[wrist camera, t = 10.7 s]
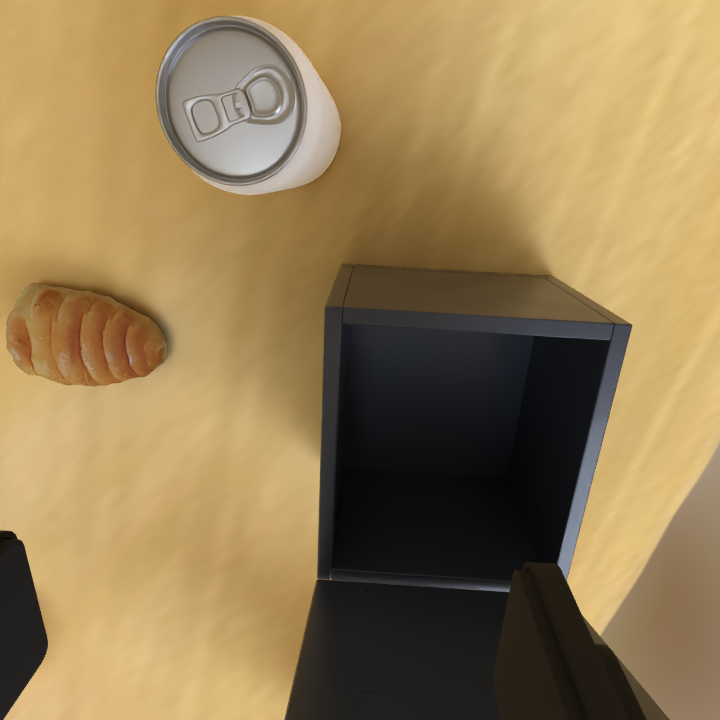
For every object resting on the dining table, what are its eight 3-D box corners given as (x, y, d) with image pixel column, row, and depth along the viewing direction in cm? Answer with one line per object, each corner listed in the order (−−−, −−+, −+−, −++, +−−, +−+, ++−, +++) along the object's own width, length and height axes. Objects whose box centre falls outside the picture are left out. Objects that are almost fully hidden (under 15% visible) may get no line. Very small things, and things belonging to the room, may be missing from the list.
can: (355, 169, 30) (341, 168, 19) (255, 201, 31) (186, 218, 20) (321, 50, 28) (283, -28, 17) (215, 88, 29) (112, 37, 18)
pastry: (171, 295, 33) (146, 310, 30) (172, 386, 36) (150, 411, 32) (30, 277, 33) (-11, 291, 30) (42, 370, 36) (5, 393, 32)
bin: (341, 263, 32) (324, 306, 22) (553, 276, 32) (633, 324, 22) (333, 470, 38) (316, 579, 28) (513, 482, 38) (563, 596, 28)
